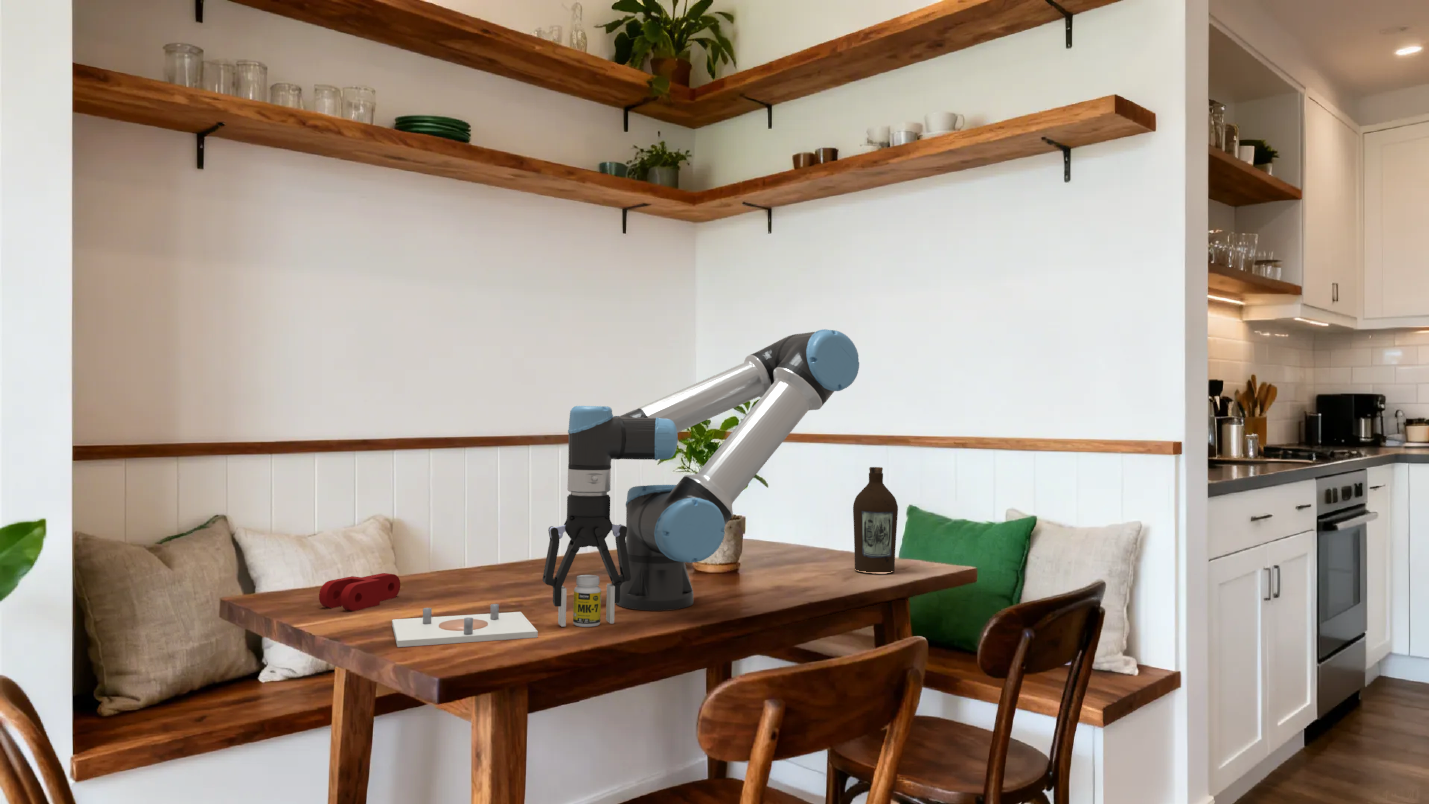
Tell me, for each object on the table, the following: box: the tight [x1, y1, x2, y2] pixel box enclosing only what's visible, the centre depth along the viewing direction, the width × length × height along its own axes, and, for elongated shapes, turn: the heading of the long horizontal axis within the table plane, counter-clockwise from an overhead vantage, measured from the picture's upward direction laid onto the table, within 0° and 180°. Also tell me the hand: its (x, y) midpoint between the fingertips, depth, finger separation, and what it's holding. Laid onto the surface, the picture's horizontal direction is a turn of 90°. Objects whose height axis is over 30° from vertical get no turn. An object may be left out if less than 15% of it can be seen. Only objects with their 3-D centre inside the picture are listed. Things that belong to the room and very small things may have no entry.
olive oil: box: [852, 466, 899, 572], centre depth 229 cm, size 11×11×25 cm
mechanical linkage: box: [318, 572, 401, 612], centre depth 183 cm, size 16×7×5 cm, turn 156°
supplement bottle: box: [572, 574, 602, 628], centre depth 168 cm, size 5×5×8 cm
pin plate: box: [391, 603, 539, 648], centre depth 161 cm, size 22×16×4 cm
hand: (586, 623), depth 168 cm, fingers open, 8 cm apart
